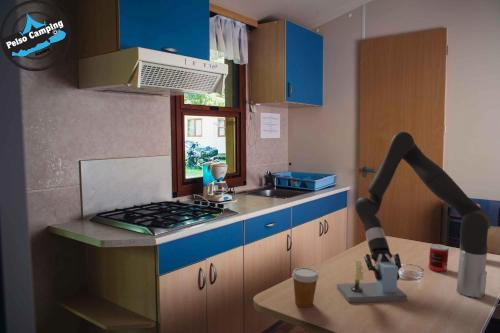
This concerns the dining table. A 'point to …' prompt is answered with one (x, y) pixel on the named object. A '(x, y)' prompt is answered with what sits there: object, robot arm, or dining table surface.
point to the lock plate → (369, 293)
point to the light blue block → (387, 277)
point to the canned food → (438, 258)
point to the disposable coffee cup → (304, 286)
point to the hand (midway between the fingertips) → (388, 279)
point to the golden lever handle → (358, 273)
